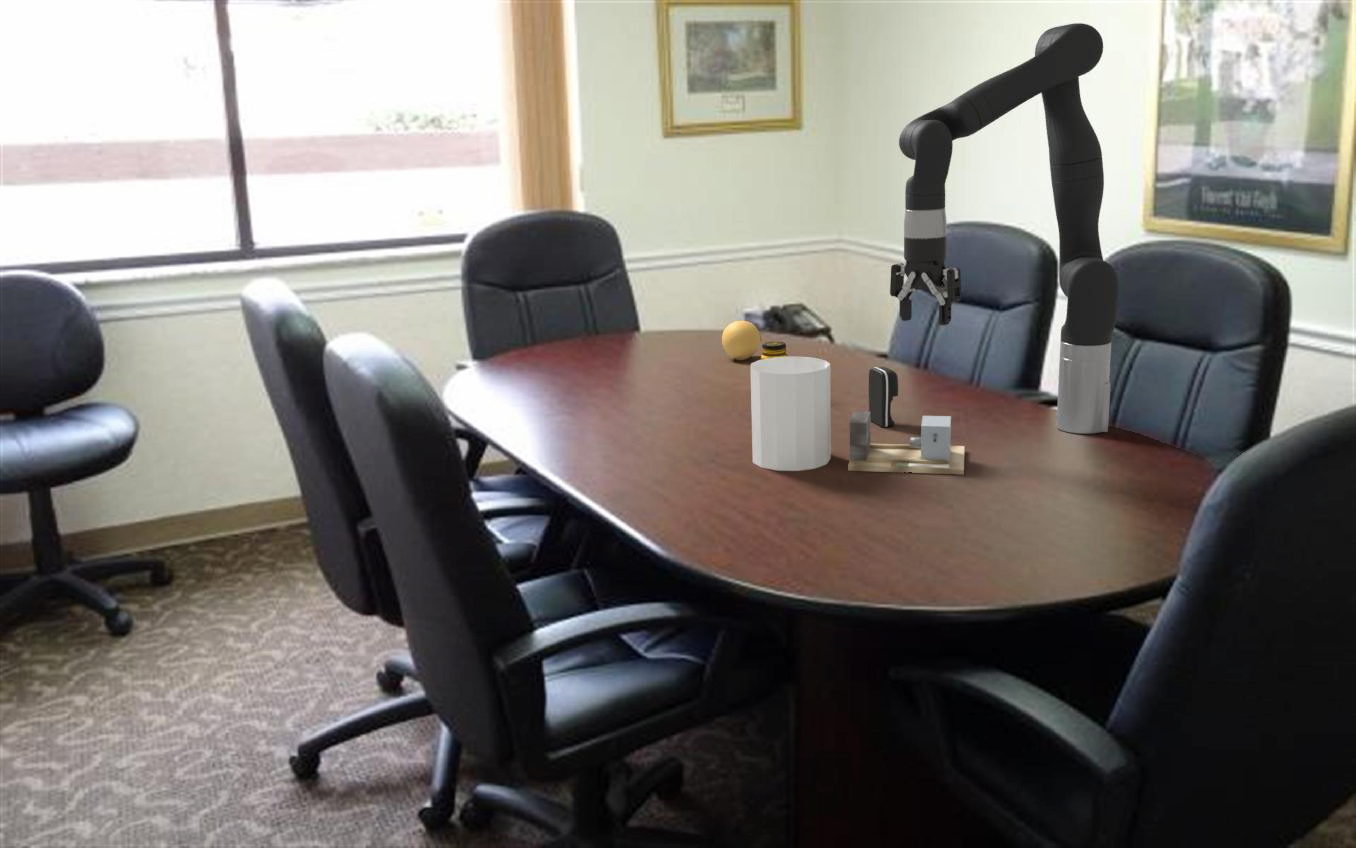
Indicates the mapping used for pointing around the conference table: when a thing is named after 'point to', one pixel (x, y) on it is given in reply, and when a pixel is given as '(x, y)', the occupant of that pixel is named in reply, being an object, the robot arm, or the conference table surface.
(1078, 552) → the conference table surface
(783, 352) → the condiment
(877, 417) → the battery charger
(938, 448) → the block
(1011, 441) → the conference table surface
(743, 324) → the stress ball
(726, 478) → the conference table surface
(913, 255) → the robot arm
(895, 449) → the wooden sliding jig
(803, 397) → the container
